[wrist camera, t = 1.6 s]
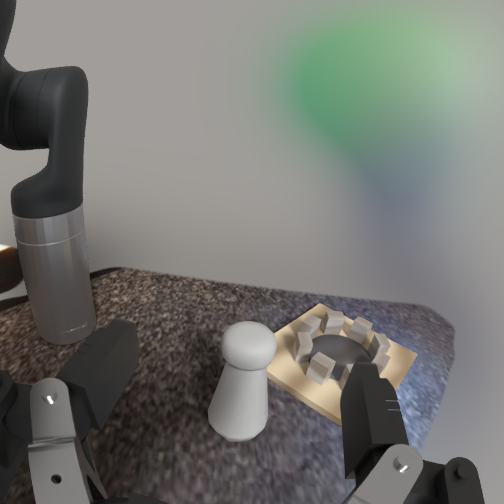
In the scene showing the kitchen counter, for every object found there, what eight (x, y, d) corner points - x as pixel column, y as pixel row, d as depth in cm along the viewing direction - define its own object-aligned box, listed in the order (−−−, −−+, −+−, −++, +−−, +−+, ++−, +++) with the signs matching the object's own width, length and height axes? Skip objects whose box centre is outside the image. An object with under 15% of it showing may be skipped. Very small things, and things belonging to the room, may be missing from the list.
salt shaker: (236, 459, 25) (253, 371, 20) (195, 425, 29) (196, 329, 23) (275, 427, 30) (302, 334, 24) (235, 397, 33) (248, 302, 27)
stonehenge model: (241, 358, 39) (244, 335, 37) (318, 308, 51) (323, 287, 50) (362, 439, 28) (376, 418, 27) (414, 359, 41) (425, 338, 39)
